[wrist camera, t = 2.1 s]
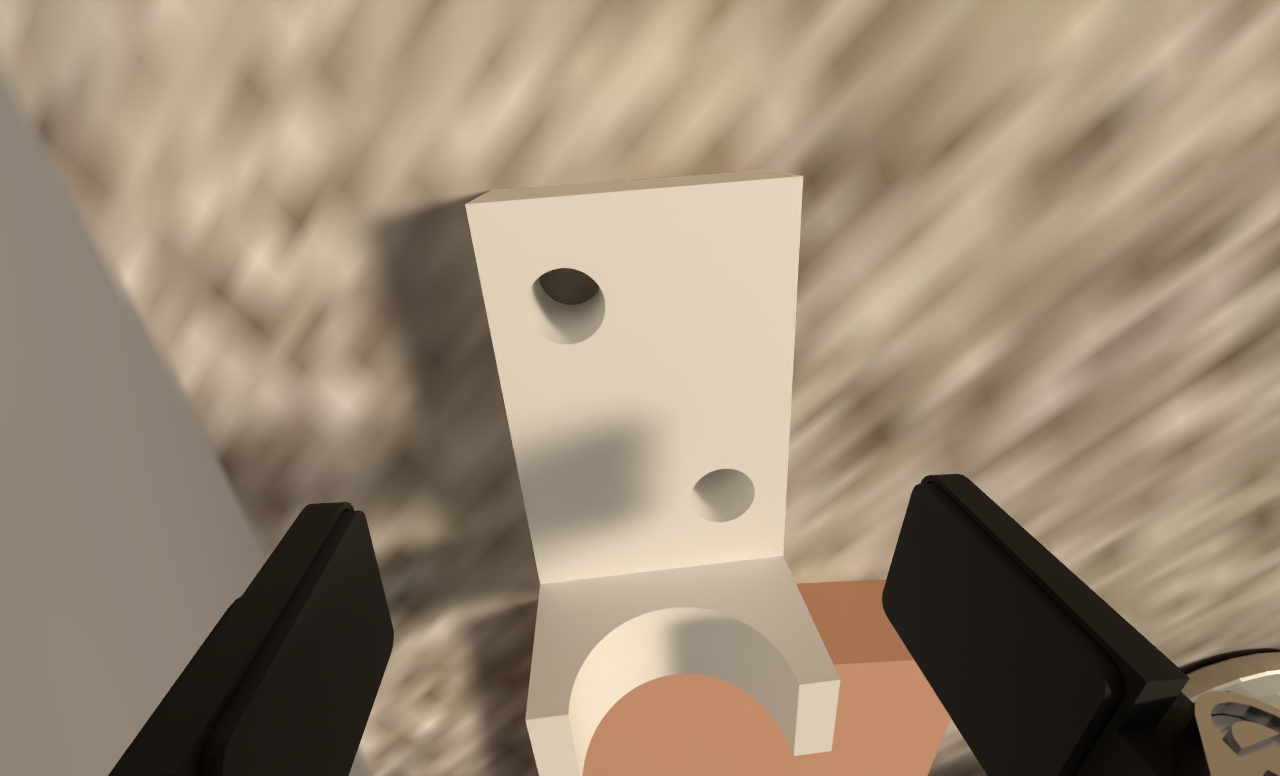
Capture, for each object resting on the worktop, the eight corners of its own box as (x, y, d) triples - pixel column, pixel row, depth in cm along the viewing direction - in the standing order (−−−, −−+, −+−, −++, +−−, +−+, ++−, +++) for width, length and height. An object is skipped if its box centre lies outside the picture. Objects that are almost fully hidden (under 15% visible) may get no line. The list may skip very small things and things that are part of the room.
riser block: (911, 569, 22) (975, 656, 18) (836, 816, 29) (872, 913, 25) (558, 585, 21) (551, 681, 17) (570, 838, 28) (568, 943, 24)
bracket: (749, 543, 20) (831, 751, 13) (558, 565, 20) (542, 789, 13) (756, 167, 15) (901, 194, 8) (492, 189, 14) (405, 236, 8)
